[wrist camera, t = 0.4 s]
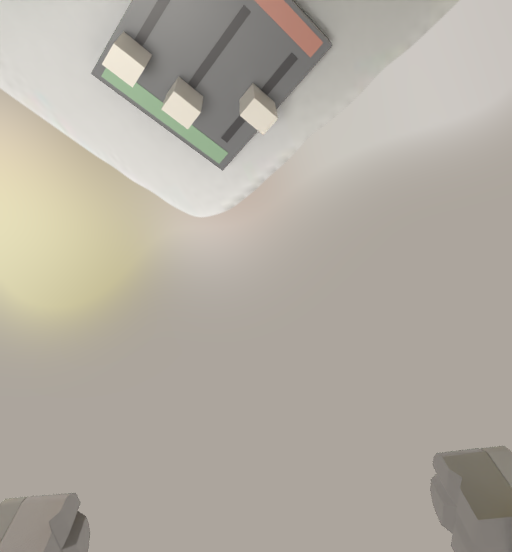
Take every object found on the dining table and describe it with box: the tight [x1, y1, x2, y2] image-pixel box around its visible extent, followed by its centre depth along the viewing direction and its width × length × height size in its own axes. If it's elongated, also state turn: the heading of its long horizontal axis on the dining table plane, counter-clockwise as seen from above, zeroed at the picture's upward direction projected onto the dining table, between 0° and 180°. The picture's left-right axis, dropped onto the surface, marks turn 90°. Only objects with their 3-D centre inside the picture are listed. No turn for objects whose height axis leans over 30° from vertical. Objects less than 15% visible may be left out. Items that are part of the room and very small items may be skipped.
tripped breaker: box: [239, 83, 278, 135], centre depth 48 cm, size 2×4×5 cm
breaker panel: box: [91, 0, 332, 170], centre depth 48 cm, size 20×19×3 cm
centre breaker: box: [161, 77, 203, 129], centre depth 47 cm, size 2×4×5 cm
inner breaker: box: [102, 32, 152, 88], centre depth 44 cm, size 2×4×5 cm
